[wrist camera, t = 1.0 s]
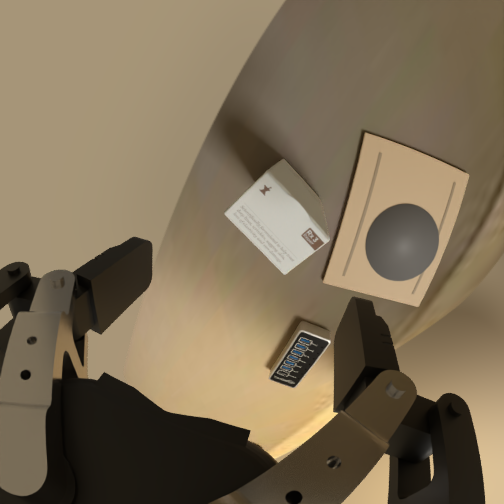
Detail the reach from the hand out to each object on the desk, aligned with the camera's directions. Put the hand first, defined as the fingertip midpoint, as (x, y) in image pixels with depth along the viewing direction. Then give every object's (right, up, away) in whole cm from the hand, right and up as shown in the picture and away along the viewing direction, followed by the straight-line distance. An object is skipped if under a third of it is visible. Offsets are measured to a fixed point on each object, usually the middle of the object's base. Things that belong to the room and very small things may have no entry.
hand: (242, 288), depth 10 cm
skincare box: (+4, +8, +18) cm, 20 cm away
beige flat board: (+16, +4, +16) cm, 23 cm away
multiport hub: (+7, -12, +26) cm, 30 cm away
